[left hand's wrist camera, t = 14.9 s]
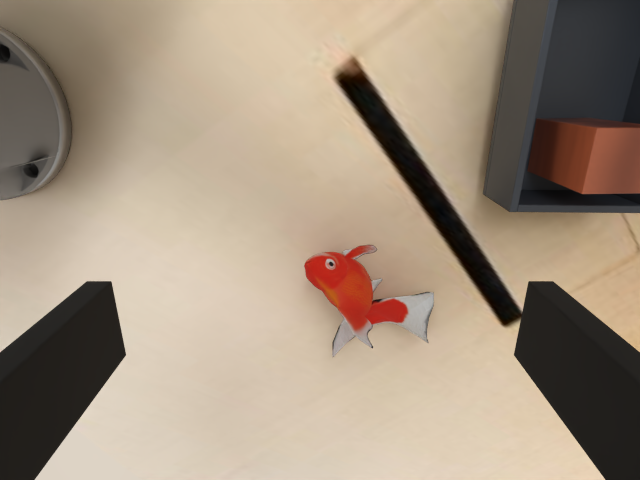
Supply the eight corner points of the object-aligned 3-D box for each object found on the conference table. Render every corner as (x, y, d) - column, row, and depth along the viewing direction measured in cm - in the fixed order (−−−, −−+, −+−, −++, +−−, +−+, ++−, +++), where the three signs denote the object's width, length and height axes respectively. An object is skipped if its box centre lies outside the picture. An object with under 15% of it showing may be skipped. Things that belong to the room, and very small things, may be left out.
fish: (396, 193, 34) (401, 297, 28) (447, 285, 44) (459, 375, 38) (289, 226, 38) (273, 321, 32) (358, 302, 49) (356, 385, 43)
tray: (482, 194, 37) (509, 212, 32) (539, -161, 28) (590, -217, 23) (603, 195, 37) (650, 213, 32) (699, -158, 28) (787, -214, 23)
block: (526, 171, 36) (582, 194, 28) (536, 118, 34) (597, 127, 27) (577, 170, 36) (646, 193, 28) (589, 117, 34) (665, 127, 27)
